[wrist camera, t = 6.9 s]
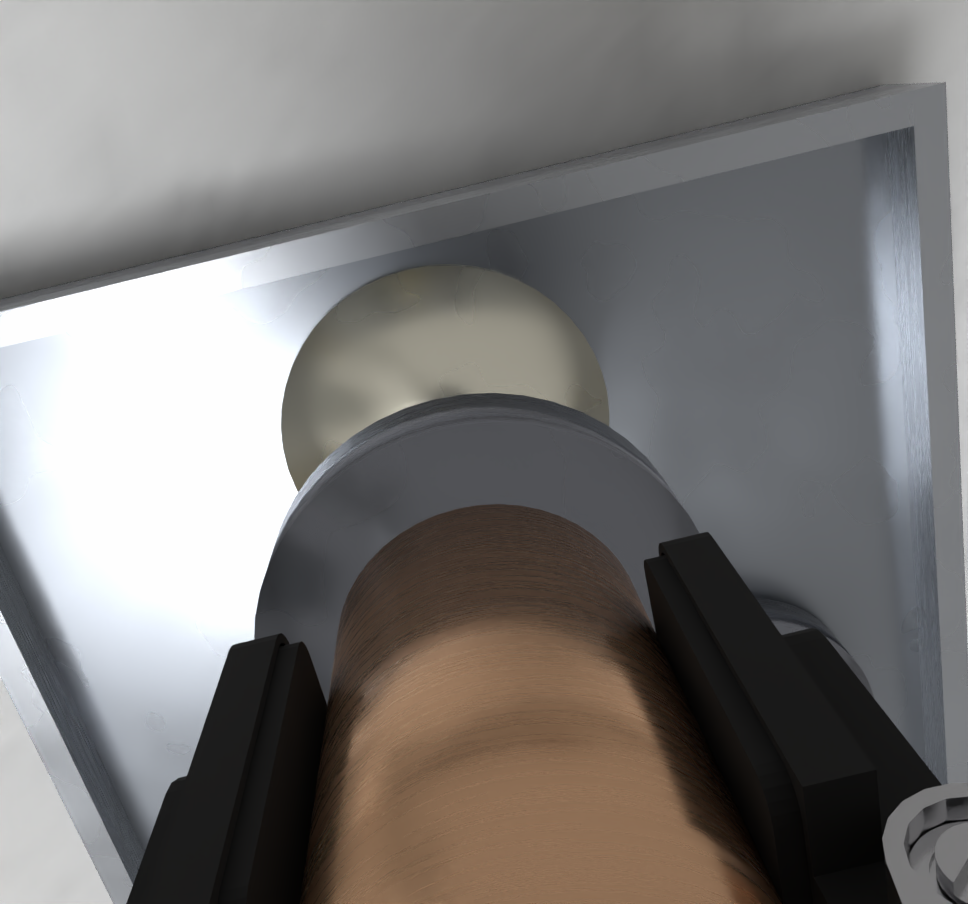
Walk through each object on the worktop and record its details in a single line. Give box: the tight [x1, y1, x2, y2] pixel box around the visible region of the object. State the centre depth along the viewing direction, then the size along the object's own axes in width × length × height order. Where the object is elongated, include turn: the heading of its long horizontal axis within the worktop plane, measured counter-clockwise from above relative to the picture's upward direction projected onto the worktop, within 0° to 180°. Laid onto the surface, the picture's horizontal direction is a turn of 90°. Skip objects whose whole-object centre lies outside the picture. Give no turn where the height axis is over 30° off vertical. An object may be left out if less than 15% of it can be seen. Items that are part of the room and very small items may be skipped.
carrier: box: [0, 82, 968, 904], centre depth 18 cm, size 20×20×8 cm
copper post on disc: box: [254, 393, 782, 904], centre depth 9 cm, size 6×6×7 cm
